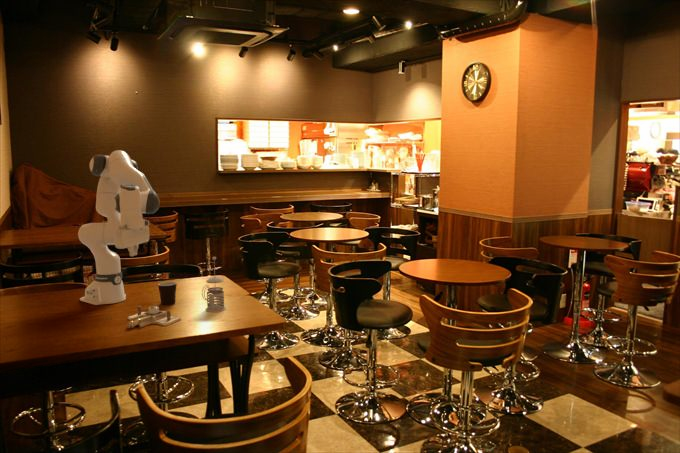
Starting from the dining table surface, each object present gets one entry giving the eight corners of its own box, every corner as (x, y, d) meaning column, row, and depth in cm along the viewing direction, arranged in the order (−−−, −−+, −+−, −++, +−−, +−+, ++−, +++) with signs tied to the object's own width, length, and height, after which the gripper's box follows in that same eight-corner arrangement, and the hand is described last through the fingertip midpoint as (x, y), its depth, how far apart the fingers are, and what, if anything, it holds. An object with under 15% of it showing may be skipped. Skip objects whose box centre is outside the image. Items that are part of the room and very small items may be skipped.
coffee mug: (172, 306, 265) (171, 286, 263) (155, 305, 266) (154, 285, 265) (183, 300, 276) (182, 280, 275) (167, 299, 278) (166, 279, 276)
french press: (230, 308, 261) (229, 256, 257) (209, 314, 252) (207, 260, 249) (218, 305, 267) (216, 254, 264) (197, 310, 259) (195, 257, 255)
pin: (133, 328, 231) (132, 321, 231) (127, 328, 233) (127, 320, 232) (148, 322, 239) (148, 316, 239) (143, 322, 241) (143, 315, 240)
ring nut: (146, 317, 244) (146, 307, 244) (156, 315, 247) (155, 305, 247) (151, 319, 241) (150, 309, 240) (160, 317, 244) (160, 307, 243)
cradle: (117, 323, 240) (116, 311, 239) (143, 313, 253) (142, 303, 252) (155, 329, 230) (155, 318, 229) (180, 320, 244) (180, 309, 243)
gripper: (123, 227, 225) (125, 260, 227) (151, 221, 245) (152, 251, 247) (110, 226, 227) (112, 259, 229) (138, 220, 247) (140, 251, 248)
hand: (133, 255), depth 238 cm, fingers closed
